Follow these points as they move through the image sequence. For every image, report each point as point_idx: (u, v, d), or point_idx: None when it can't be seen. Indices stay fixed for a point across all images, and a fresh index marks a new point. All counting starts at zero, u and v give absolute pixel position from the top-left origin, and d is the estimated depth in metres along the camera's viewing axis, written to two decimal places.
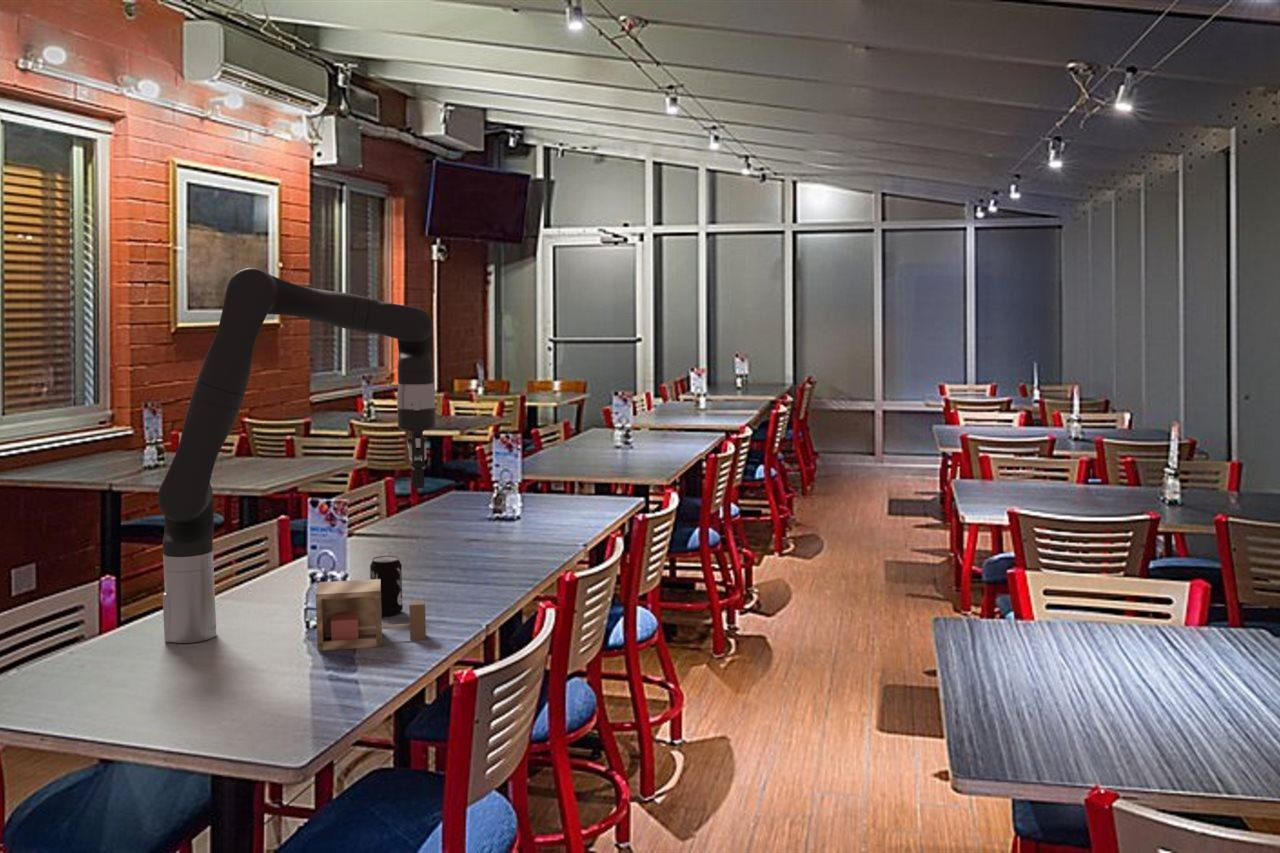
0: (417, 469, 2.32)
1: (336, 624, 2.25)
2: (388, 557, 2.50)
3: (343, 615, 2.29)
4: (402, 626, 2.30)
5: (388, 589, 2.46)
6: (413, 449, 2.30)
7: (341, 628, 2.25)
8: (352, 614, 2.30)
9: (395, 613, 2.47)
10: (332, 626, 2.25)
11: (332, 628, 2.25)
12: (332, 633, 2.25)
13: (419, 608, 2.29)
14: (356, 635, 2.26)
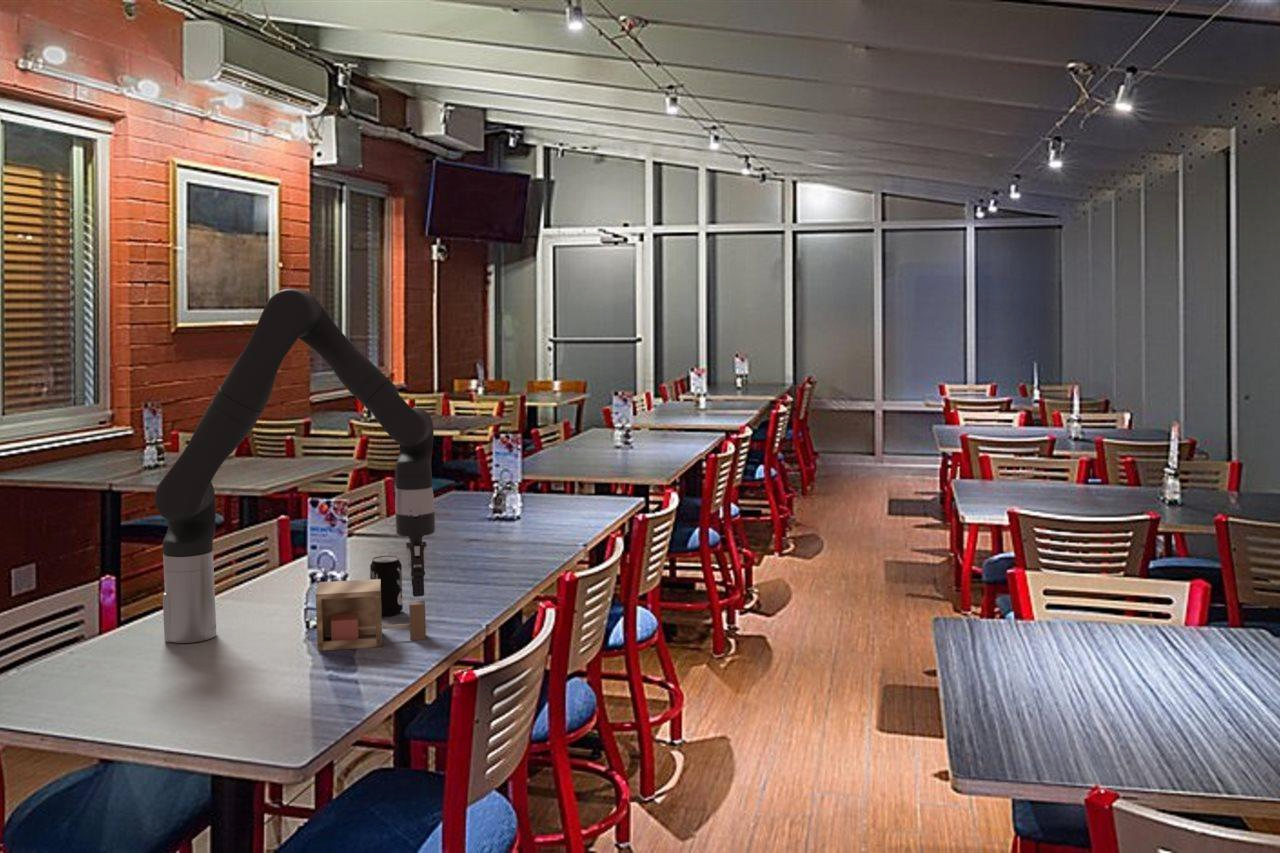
0: (416, 577, 2.24)
1: (336, 624, 2.25)
2: (388, 557, 2.50)
3: (343, 615, 2.29)
4: (402, 626, 2.30)
5: (388, 589, 2.46)
6: (412, 558, 2.22)
7: (341, 628, 2.25)
8: (352, 614, 2.30)
9: (395, 613, 2.47)
10: (332, 626, 2.25)
11: (332, 628, 2.25)
12: (332, 633, 2.25)
13: (419, 608, 2.29)
14: (356, 635, 2.26)
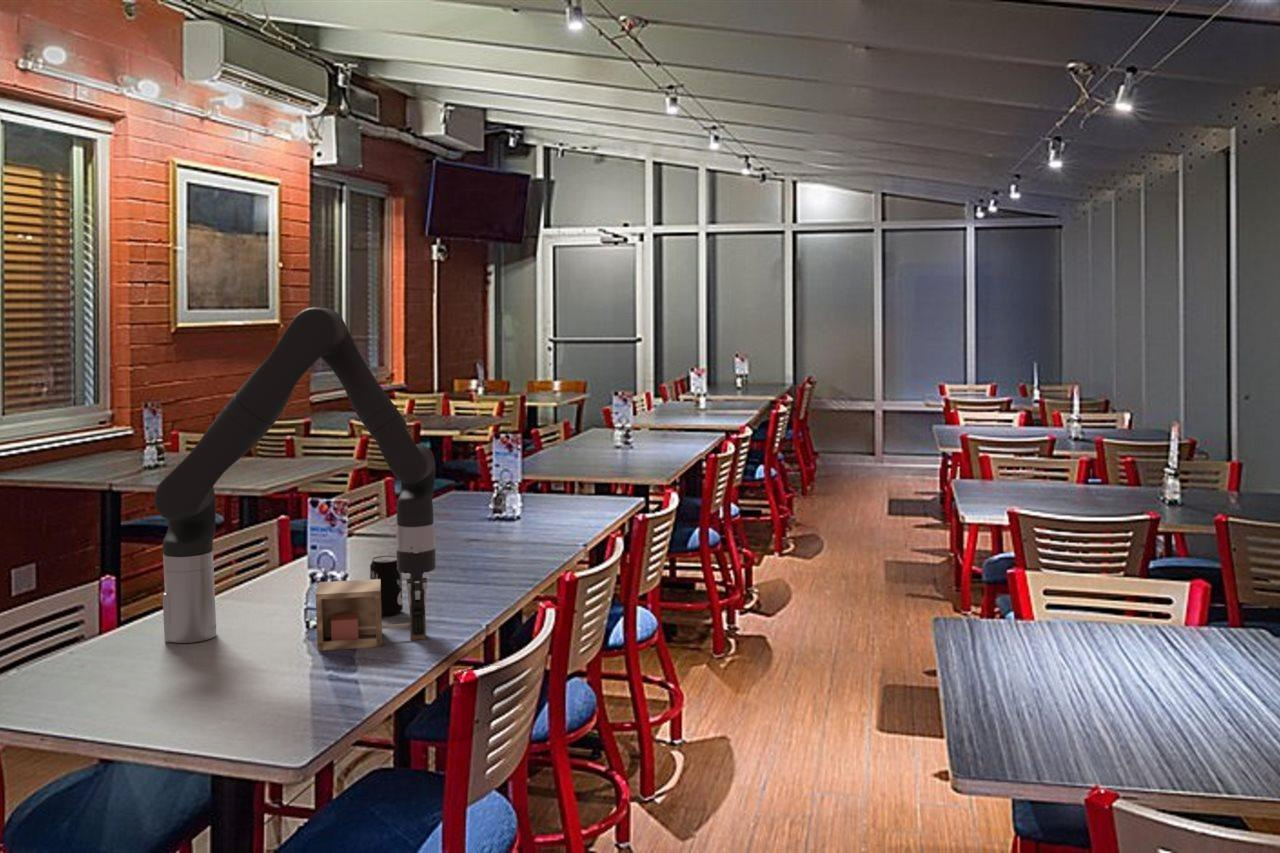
0: (416, 616, 2.28)
1: (336, 624, 2.25)
2: (388, 557, 2.50)
3: (343, 615, 2.29)
4: (402, 626, 2.30)
5: (388, 589, 2.46)
6: (412, 602, 2.24)
7: (341, 628, 2.25)
8: (352, 614, 2.30)
9: (395, 613, 2.47)
10: (332, 626, 2.25)
11: (332, 628, 2.25)
12: (332, 633, 2.25)
13: (419, 608, 2.29)
14: (356, 635, 2.26)
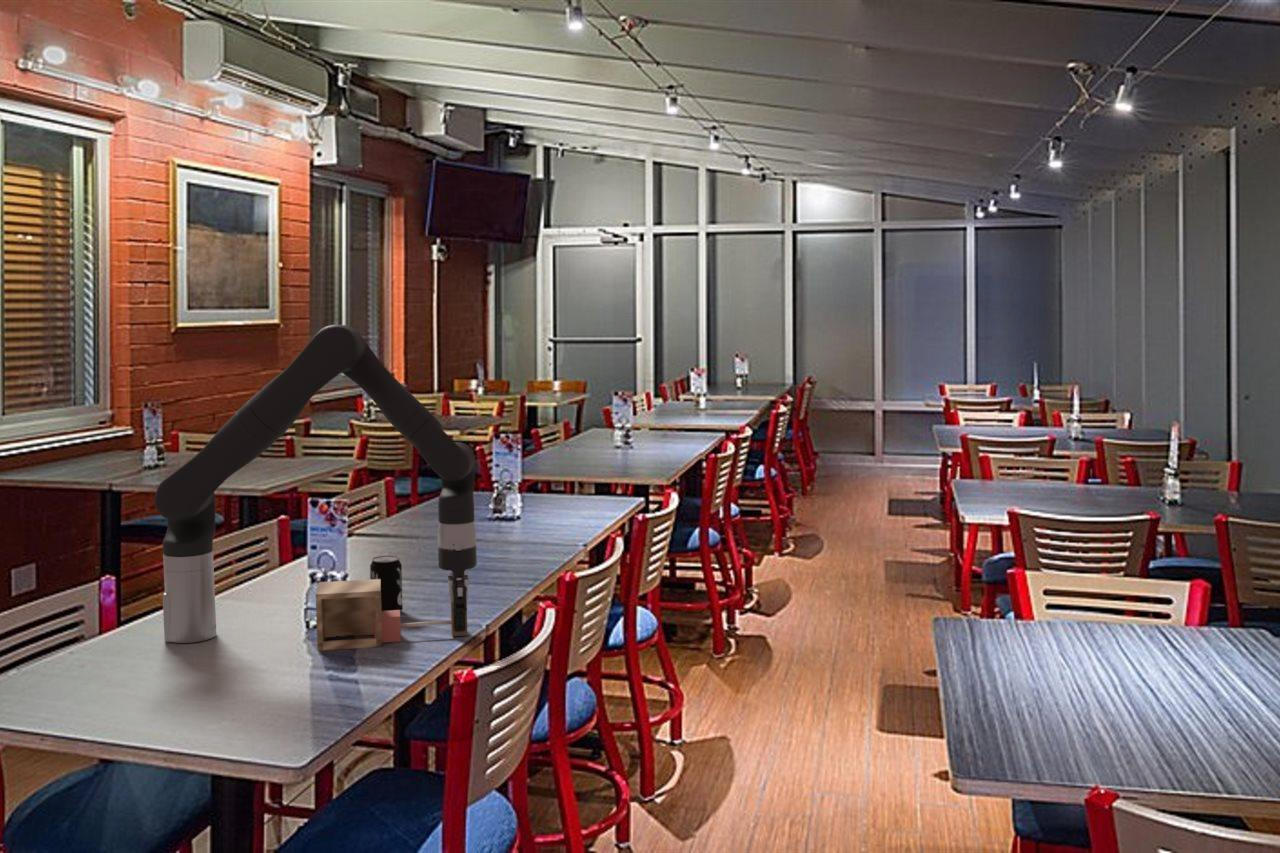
0: (458, 613, 2.29)
1: None
2: (388, 557, 2.50)
3: (385, 612, 2.31)
4: (444, 623, 2.32)
5: (388, 589, 2.46)
6: (455, 598, 2.26)
7: (384, 625, 2.27)
8: (394, 611, 2.31)
9: None
10: (375, 623, 2.27)
11: (375, 625, 2.27)
12: (375, 630, 2.27)
13: (461, 604, 2.31)
14: (399, 632, 2.28)
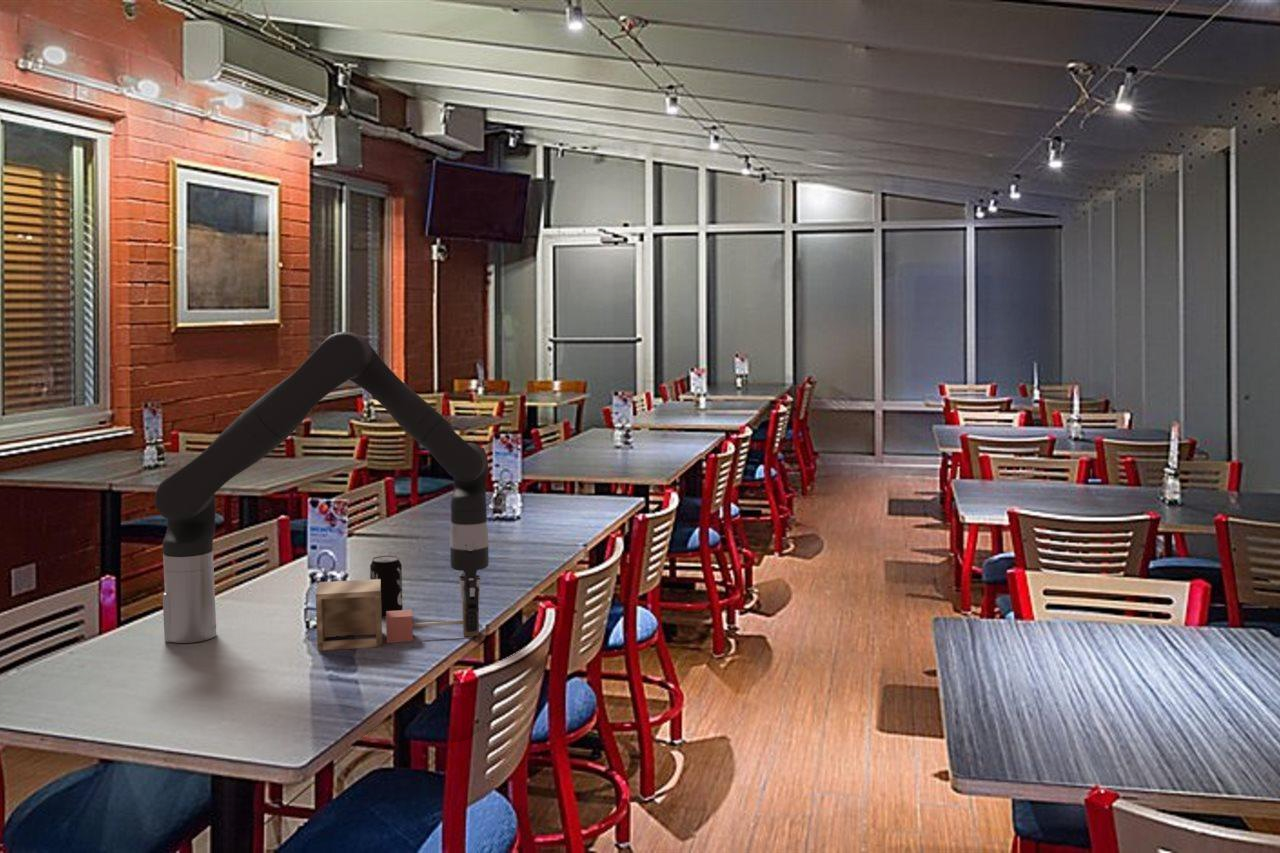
0: (470, 613, 2.30)
1: (391, 621, 2.27)
2: (388, 557, 2.50)
3: (397, 612, 2.31)
4: (455, 623, 2.32)
5: (388, 589, 2.46)
6: (467, 599, 2.27)
7: (396, 625, 2.28)
8: (406, 611, 2.32)
9: None
10: (387, 622, 2.27)
11: (387, 624, 2.27)
12: (387, 629, 2.27)
13: (473, 605, 2.31)
14: (411, 631, 2.28)
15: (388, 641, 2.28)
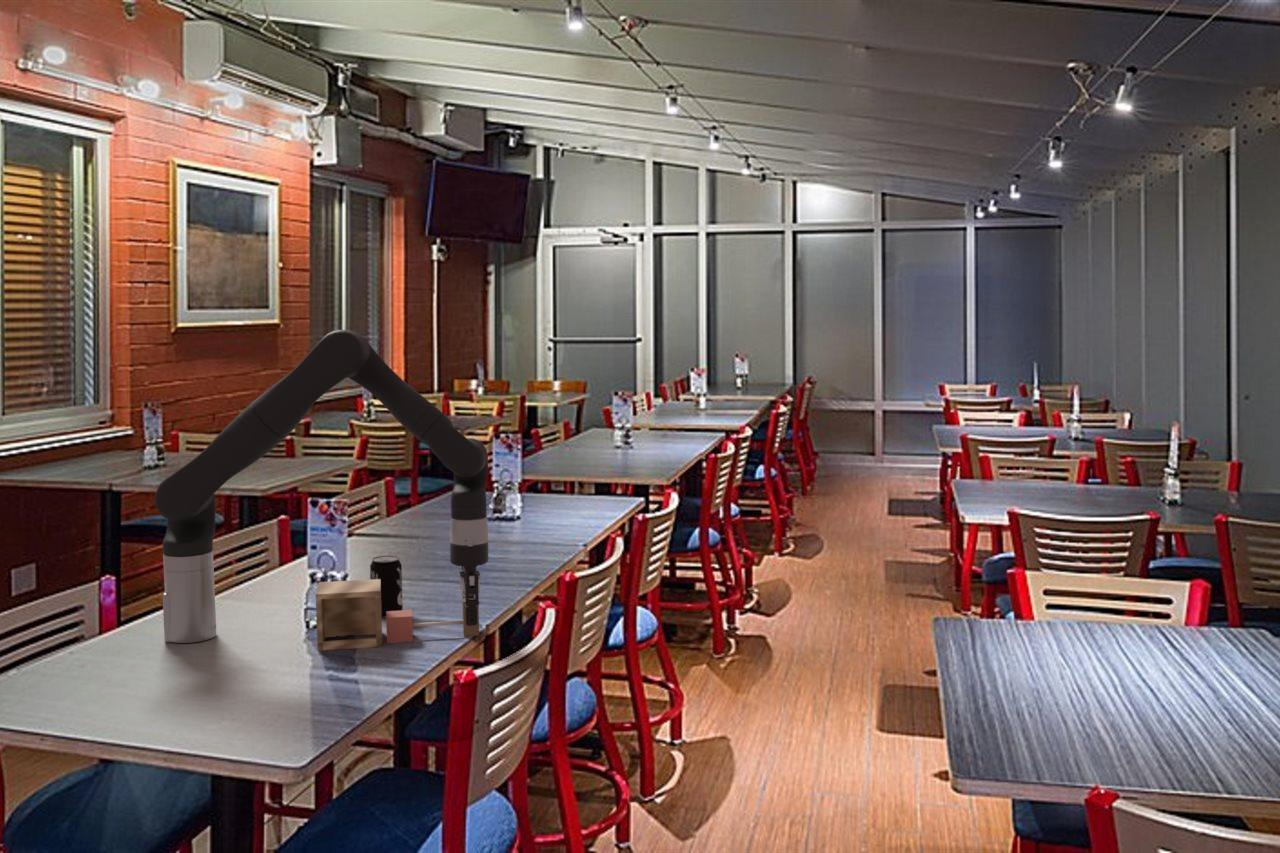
0: (470, 607, 2.27)
1: (391, 621, 2.27)
2: (388, 557, 2.50)
3: (397, 612, 2.31)
4: (456, 623, 2.32)
5: (388, 589, 2.46)
6: (467, 587, 2.25)
7: (396, 625, 2.28)
8: (406, 611, 2.32)
9: None
10: (387, 623, 2.27)
11: (387, 625, 2.27)
12: (387, 630, 2.27)
13: None
14: (411, 632, 2.28)
15: (388, 641, 2.28)
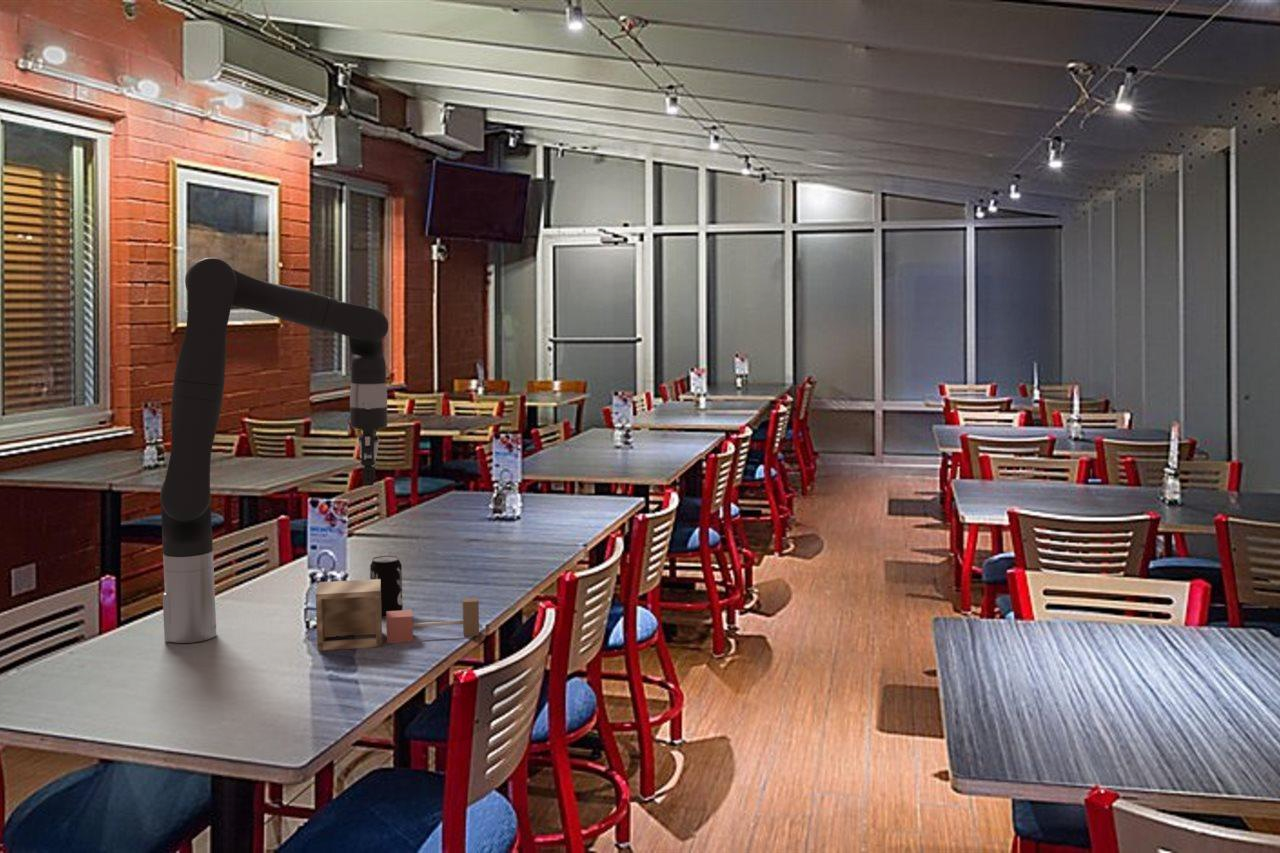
0: (366, 467, 2.37)
1: (391, 621, 2.27)
2: (388, 557, 2.50)
3: (397, 612, 2.31)
4: (456, 623, 2.32)
5: (388, 589, 2.46)
6: (362, 447, 2.35)
7: (396, 625, 2.28)
8: (406, 611, 2.32)
9: None
10: (387, 623, 2.27)
11: (387, 625, 2.27)
12: (387, 630, 2.27)
13: (473, 605, 2.31)
14: (411, 632, 2.28)
15: (388, 641, 2.28)
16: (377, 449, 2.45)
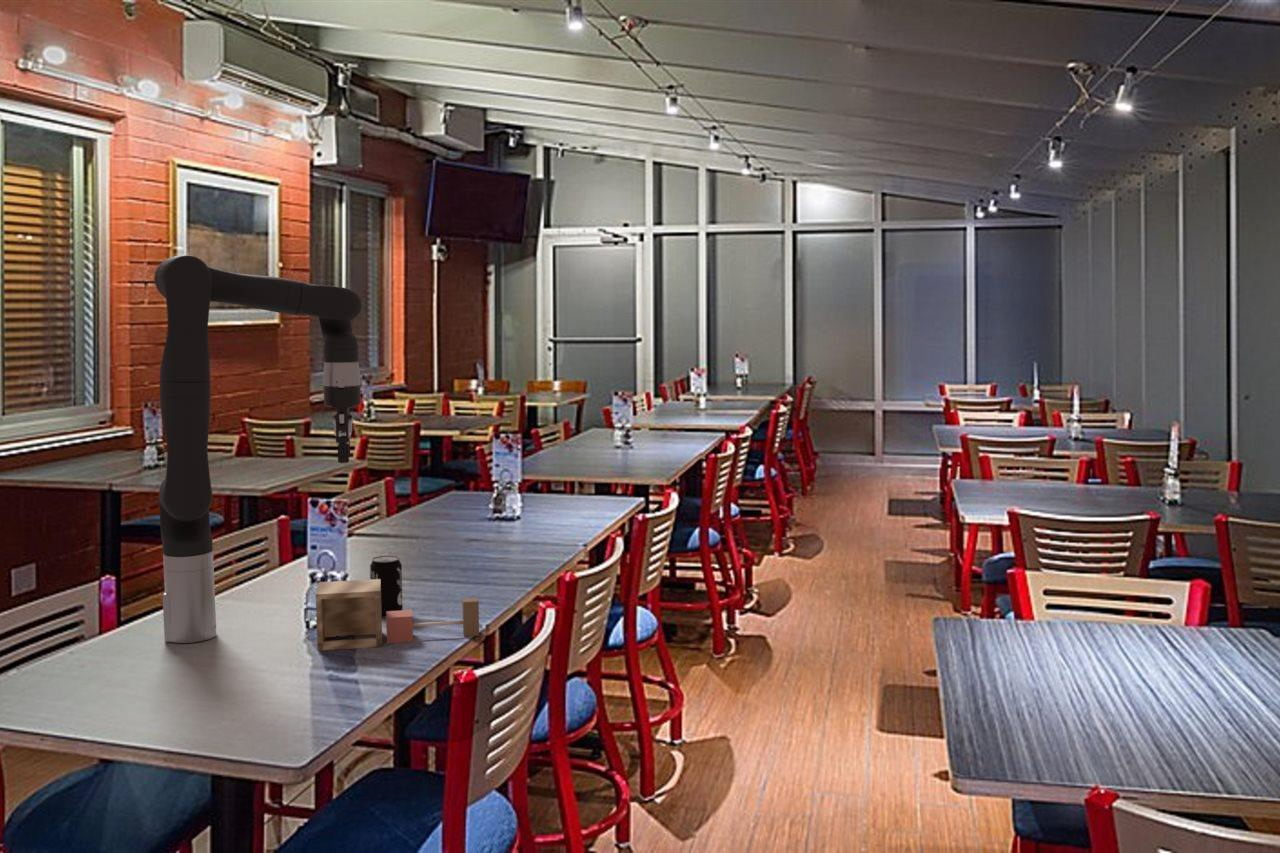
0: (341, 444, 2.40)
1: (391, 621, 2.27)
2: (388, 557, 2.50)
3: (397, 612, 2.31)
4: (456, 623, 2.32)
5: (389, 589, 2.46)
6: (337, 425, 2.38)
7: (396, 625, 2.28)
8: (406, 611, 2.32)
9: None
10: (387, 623, 2.27)
11: (387, 625, 2.27)
12: (387, 630, 2.27)
13: (473, 605, 2.31)
14: (411, 632, 2.28)
15: (388, 641, 2.28)
16: (351, 427, 2.48)
